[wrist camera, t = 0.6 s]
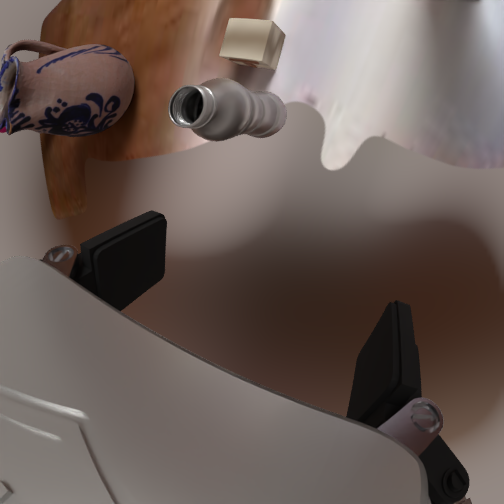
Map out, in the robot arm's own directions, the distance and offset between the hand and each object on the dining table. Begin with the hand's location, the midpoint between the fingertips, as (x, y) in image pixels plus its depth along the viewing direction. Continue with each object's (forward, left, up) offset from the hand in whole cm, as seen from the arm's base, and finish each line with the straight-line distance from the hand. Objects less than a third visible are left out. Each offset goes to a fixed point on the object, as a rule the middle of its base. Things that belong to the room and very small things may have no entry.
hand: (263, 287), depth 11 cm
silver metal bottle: (-5, -12, -31) cm, 33 cm away
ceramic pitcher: (-7, -45, -31) cm, 55 cm away
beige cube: (-15, -15, -31) cm, 38 cm away
